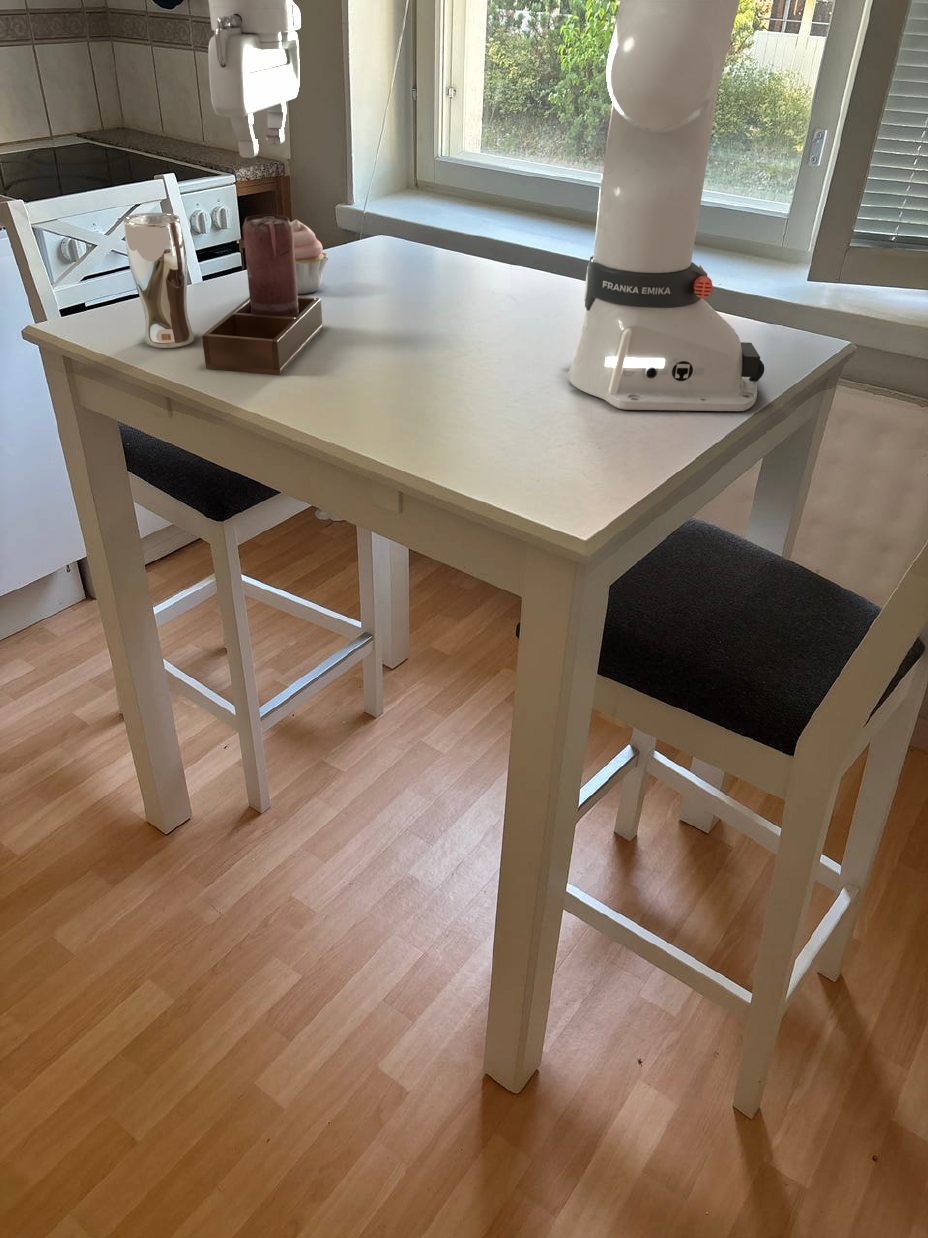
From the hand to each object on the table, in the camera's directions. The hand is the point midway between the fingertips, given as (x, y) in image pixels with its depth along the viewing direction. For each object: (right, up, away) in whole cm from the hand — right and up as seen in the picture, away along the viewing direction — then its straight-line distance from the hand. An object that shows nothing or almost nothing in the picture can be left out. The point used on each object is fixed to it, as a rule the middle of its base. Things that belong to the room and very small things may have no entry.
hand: (263, 150), depth 113 cm
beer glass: (-14, -20, +10) cm, 27 cm away
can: (-1, -18, +12) cm, 22 cm away
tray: (-1, -21, +9) cm, 23 cm away
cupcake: (-1, -6, +31) cm, 32 cm away
